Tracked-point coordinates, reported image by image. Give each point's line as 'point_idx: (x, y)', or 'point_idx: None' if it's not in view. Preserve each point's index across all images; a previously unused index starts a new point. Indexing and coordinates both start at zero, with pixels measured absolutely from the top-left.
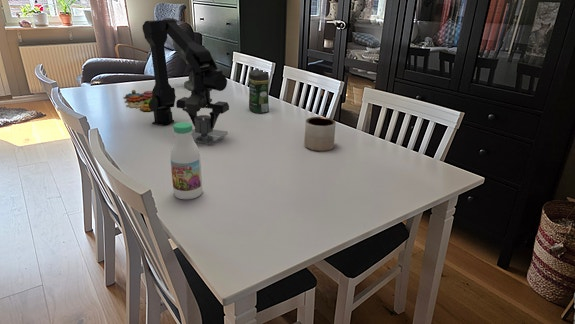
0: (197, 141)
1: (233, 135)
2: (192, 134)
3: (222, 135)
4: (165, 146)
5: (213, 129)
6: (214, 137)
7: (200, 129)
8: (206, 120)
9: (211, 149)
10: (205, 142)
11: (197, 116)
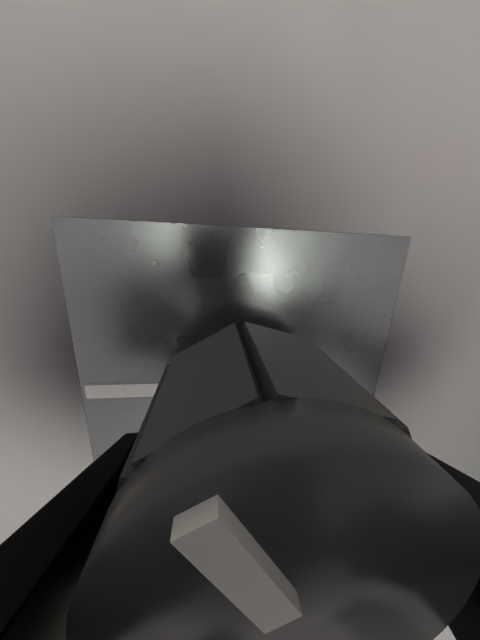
0: (229, 228)
1: (53, 481)
2: (336, 354)
3: (89, 428)
4: (476, 46)
5: None
6: (123, 362)
7: (248, 347)
8: (115, 536)
9: (5, 110)
10: (136, 222)
11: (435, 612)
